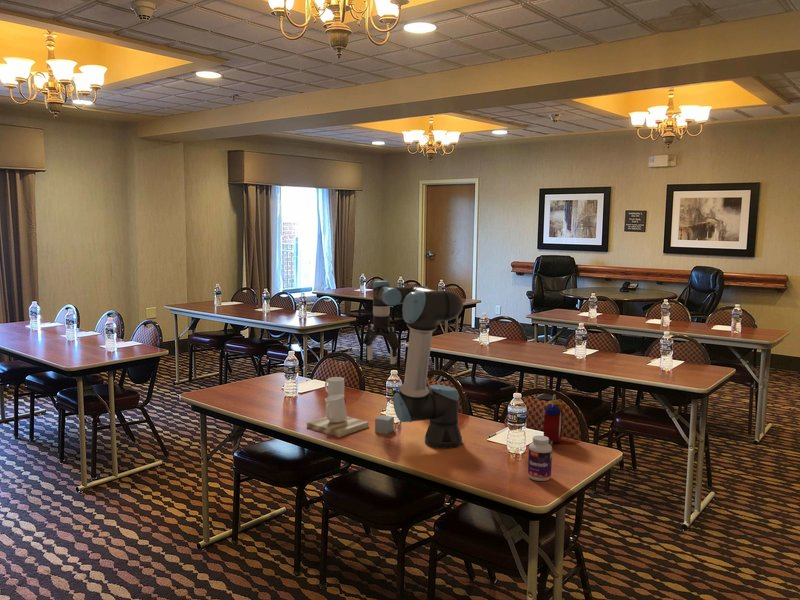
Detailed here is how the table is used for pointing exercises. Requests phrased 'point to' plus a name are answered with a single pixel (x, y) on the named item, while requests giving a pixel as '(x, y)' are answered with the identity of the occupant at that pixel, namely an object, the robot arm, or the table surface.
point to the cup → (335, 386)
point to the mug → (335, 408)
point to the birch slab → (337, 426)
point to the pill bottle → (540, 459)
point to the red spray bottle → (553, 421)
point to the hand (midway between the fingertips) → (381, 361)
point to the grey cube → (384, 424)
